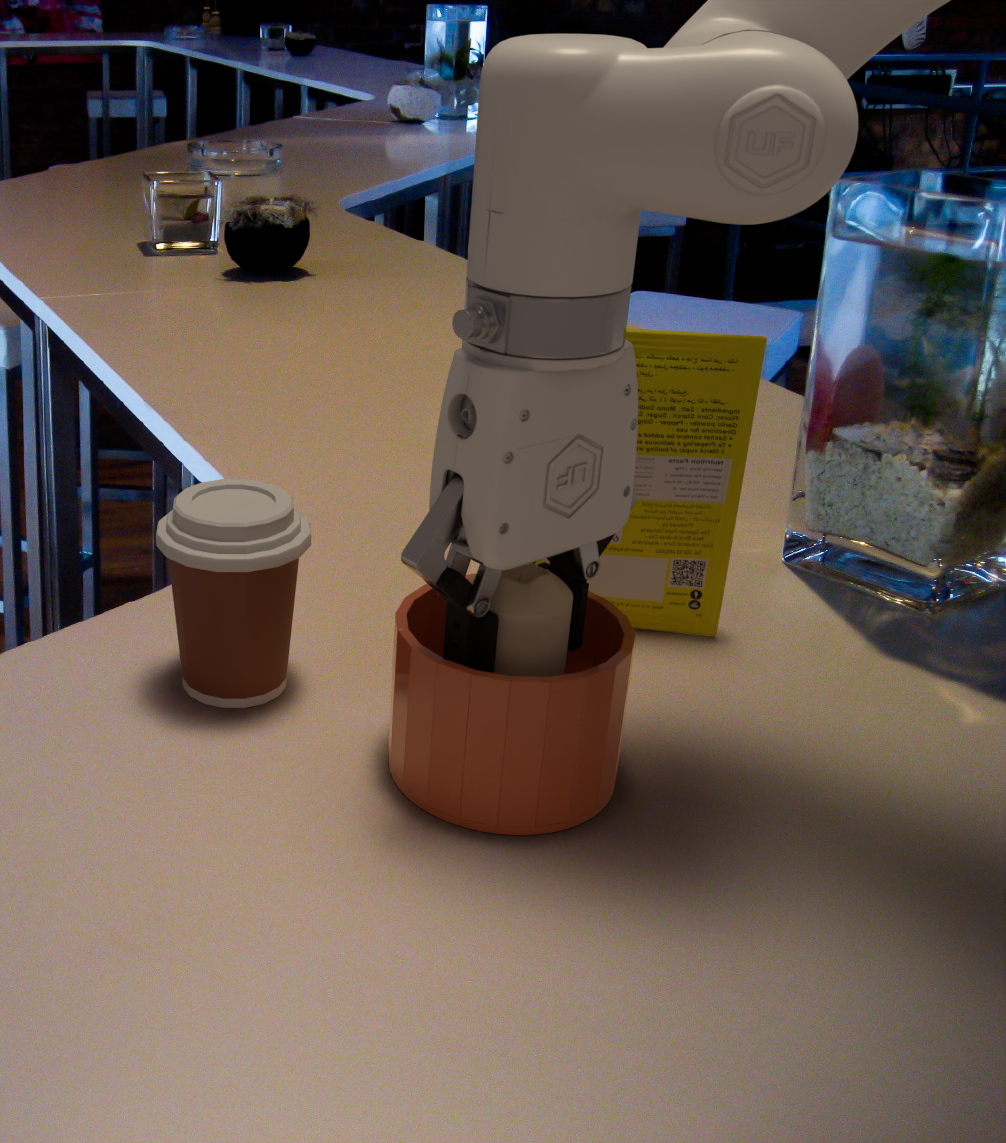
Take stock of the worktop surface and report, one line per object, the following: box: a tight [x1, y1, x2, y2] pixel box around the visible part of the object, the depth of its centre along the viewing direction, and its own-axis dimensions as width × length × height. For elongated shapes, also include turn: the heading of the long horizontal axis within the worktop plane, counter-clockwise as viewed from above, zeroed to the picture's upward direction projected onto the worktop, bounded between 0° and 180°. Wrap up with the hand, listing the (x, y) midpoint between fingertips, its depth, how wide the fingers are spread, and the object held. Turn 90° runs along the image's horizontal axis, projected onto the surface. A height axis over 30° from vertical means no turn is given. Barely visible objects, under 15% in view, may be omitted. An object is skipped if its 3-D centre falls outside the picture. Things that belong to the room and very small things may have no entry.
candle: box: [468, 563, 573, 677], centre depth 70 cm, size 6×6×10 cm
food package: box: [532, 327, 768, 637], centre depth 84 cm, size 15×1×20 cm, turn 77°
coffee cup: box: [155, 478, 312, 709], centre depth 79 cm, size 9×9×12 cm
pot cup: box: [387, 572, 637, 836], centre depth 71 cm, size 12×12×9 cm
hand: (512, 653), depth 70 cm, fingers closed on candle, 5 cm apart
